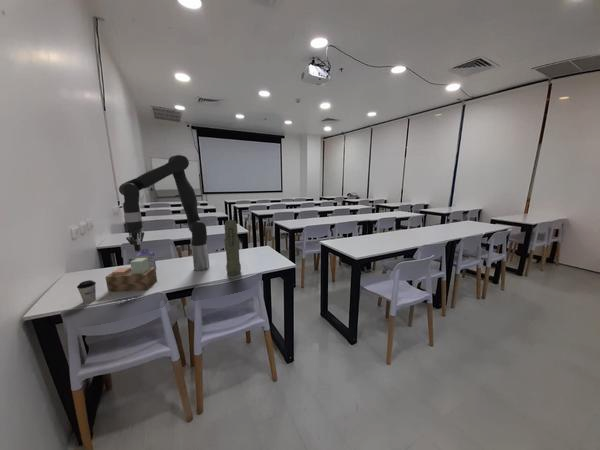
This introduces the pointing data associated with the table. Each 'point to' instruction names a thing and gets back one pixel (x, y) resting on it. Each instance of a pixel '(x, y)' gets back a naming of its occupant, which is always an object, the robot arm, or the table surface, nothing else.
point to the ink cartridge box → (148, 255)
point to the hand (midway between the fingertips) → (138, 250)
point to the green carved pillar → (232, 248)
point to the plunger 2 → (139, 265)
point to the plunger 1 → (121, 271)
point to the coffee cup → (87, 291)
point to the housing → (131, 281)
